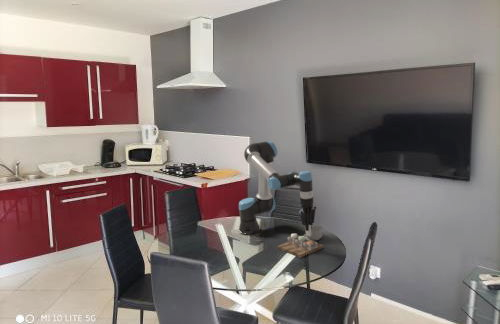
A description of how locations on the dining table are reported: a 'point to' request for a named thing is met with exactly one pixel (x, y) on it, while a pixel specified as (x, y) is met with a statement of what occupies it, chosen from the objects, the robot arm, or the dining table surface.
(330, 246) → the dining table surface
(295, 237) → the button one
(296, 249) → the button board
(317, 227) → the teacup
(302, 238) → the button two
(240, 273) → the dining table surface
